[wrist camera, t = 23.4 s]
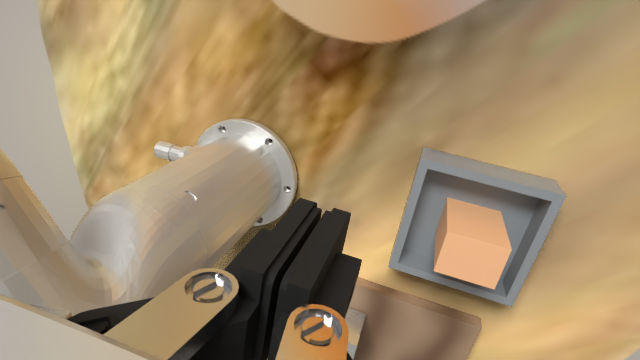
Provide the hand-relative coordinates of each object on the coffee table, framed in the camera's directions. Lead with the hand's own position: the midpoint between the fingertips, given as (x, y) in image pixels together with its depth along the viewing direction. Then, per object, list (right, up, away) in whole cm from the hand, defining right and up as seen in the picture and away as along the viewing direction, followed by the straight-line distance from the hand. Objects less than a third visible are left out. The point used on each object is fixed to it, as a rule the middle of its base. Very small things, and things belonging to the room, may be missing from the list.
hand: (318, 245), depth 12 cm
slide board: (+6, -15, +35) cm, 38 cm away
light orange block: (+14, -2, +26) cm, 30 cm away
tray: (+15, -2, +26) cm, 30 cm away
